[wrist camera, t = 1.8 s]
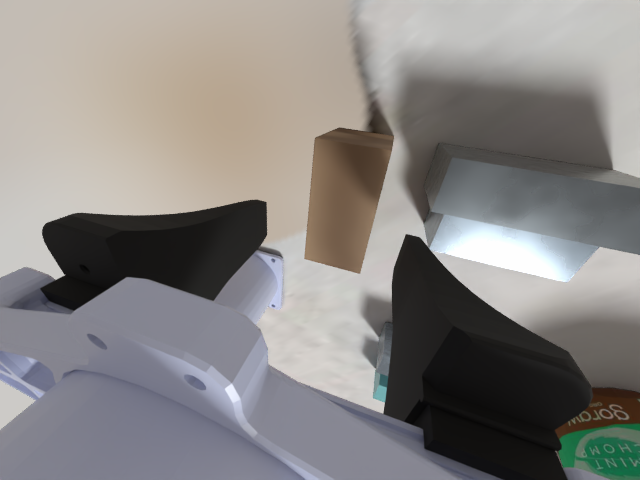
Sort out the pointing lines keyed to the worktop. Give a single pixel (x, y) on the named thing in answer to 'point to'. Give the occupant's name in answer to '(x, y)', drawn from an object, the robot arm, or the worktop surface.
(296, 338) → the worktop surface
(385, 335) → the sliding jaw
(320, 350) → the worktop surface
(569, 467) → the robot arm
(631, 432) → the food container
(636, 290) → the worktop surface
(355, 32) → the worktop surface
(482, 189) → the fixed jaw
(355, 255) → the walnut block
